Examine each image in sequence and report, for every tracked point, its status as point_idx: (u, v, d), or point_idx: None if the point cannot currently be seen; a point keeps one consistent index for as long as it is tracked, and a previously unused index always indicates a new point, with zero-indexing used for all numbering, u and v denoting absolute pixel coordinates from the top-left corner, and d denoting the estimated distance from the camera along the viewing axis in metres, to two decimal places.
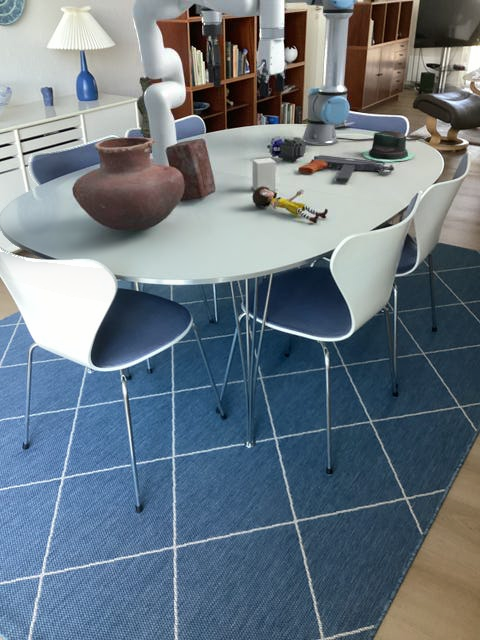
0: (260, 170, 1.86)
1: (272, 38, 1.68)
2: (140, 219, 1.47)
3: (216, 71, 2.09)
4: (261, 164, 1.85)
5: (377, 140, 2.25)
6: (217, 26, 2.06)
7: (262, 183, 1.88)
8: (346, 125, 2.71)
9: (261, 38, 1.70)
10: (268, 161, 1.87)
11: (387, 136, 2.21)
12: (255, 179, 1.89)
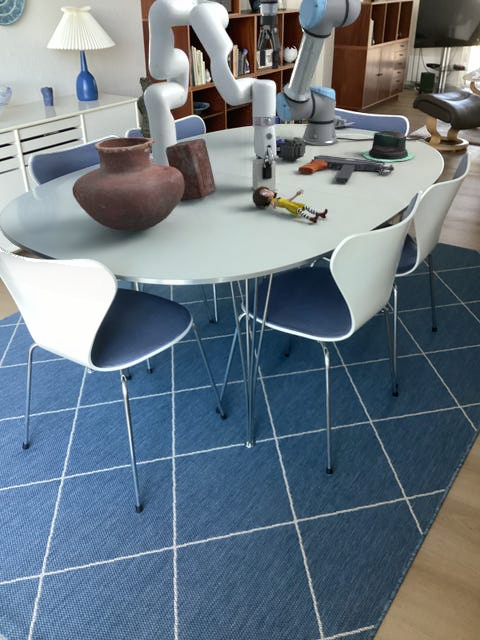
0: (260, 170, 1.86)
1: None
2: (140, 219, 1.47)
3: None
4: (261, 164, 1.85)
5: (377, 140, 2.25)
6: None
7: (262, 183, 1.88)
8: (346, 125, 2.71)
9: None
10: None
11: (387, 136, 2.21)
12: (255, 179, 1.89)
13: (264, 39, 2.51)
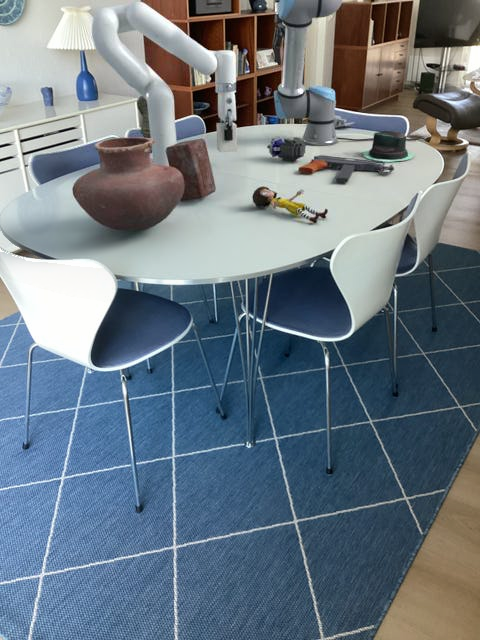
0: (222, 132, 2.08)
1: None
2: (140, 219, 1.47)
3: None
4: (223, 126, 2.07)
5: (377, 140, 2.25)
6: None
7: (224, 144, 2.11)
8: (346, 125, 2.71)
9: None
10: None
11: (387, 136, 2.21)
12: (219, 141, 2.11)
13: (278, 36, 2.62)
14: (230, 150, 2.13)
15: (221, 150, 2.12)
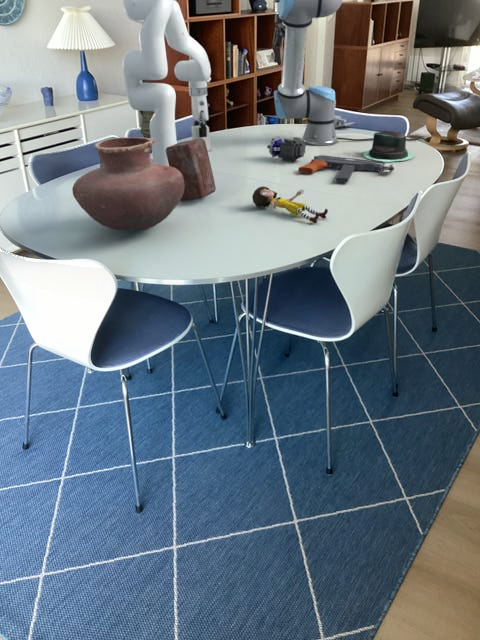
0: (196, 134, 2.37)
1: None
2: (140, 219, 1.47)
3: None
4: (197, 129, 2.36)
5: (377, 140, 2.25)
6: None
7: None
8: (346, 125, 2.71)
9: None
10: None
11: (387, 136, 2.21)
12: None
13: (278, 36, 2.62)
14: None
15: None
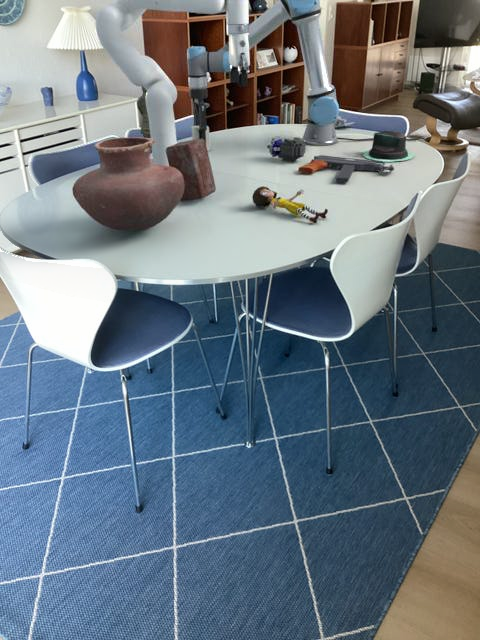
0: (196, 134, 2.37)
1: None
2: (140, 219, 1.47)
3: None
4: (197, 129, 2.36)
5: (377, 140, 2.25)
6: None
7: None
8: (346, 125, 2.71)
9: None
10: None
11: (387, 136, 2.21)
12: None
13: (197, 113, 2.37)
14: None
15: None
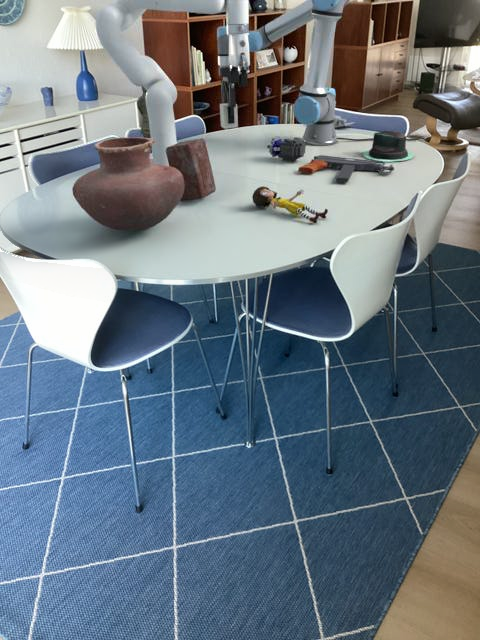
0: (225, 111, 2.47)
1: None
2: (140, 219, 1.47)
3: None
4: (226, 106, 2.46)
5: (377, 140, 2.25)
6: None
7: (227, 121, 2.49)
8: (346, 125, 2.71)
9: None
10: None
11: (387, 136, 2.21)
12: (222, 118, 2.50)
13: (225, 91, 2.47)
14: (232, 126, 2.51)
15: (225, 126, 2.50)
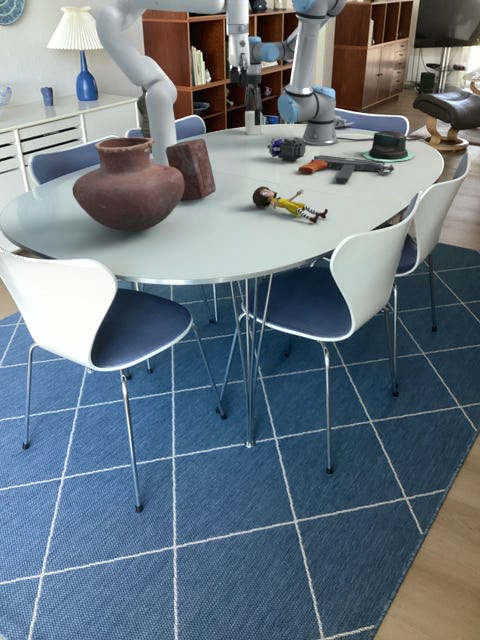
0: (250, 118, 2.64)
1: None
2: (140, 219, 1.47)
3: None
4: (251, 114, 2.63)
5: (377, 140, 2.25)
6: None
7: (252, 128, 2.66)
8: (346, 125, 2.71)
9: None
10: None
11: (387, 136, 2.21)
12: (247, 125, 2.67)
13: (249, 96, 2.64)
14: (256, 133, 2.68)
15: (249, 133, 2.67)
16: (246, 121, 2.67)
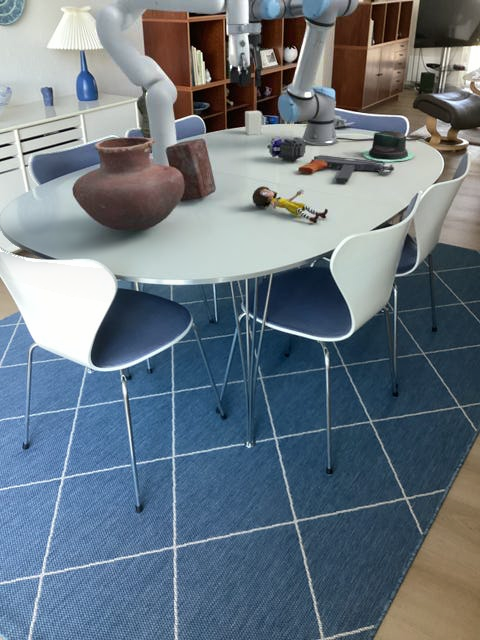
0: (250, 118, 2.64)
1: None
2: (140, 219, 1.47)
3: None
4: (251, 114, 2.63)
5: (377, 140, 2.25)
6: None
7: (251, 128, 2.66)
8: (346, 125, 2.71)
9: None
10: (256, 112, 2.64)
11: (387, 136, 2.21)
12: (247, 125, 2.67)
13: None
14: (256, 133, 2.68)
15: (249, 133, 2.67)
16: (246, 121, 2.67)
